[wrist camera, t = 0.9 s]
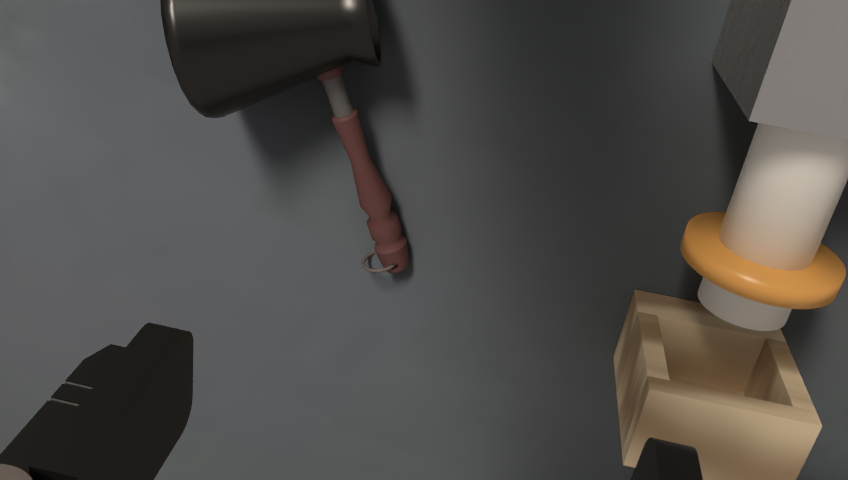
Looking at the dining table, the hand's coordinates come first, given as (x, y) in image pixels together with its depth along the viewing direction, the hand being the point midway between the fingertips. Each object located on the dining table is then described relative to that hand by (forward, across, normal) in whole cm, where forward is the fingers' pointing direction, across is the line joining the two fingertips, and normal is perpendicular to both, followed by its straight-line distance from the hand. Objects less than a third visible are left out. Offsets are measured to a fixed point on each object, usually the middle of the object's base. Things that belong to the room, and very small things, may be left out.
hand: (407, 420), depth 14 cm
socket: (+27, -13, +14) cm, 33 cm away
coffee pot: (+28, +9, +6) cm, 30 cm away
